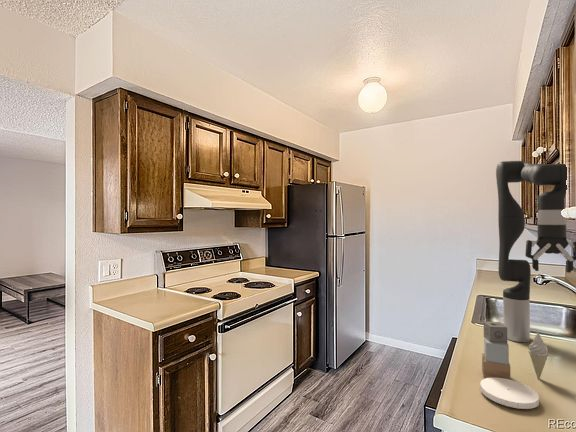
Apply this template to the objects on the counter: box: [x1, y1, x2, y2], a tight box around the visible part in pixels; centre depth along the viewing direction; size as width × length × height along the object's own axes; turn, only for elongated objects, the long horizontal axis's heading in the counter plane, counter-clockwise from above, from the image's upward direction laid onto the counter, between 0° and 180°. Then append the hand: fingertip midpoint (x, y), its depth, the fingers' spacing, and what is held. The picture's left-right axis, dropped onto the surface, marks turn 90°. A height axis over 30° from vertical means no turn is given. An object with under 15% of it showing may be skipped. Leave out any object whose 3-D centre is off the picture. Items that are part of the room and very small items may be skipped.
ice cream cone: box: [528, 331, 549, 380], centre depth 104 cm, size 5×5×15 cm
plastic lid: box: [479, 377, 540, 410], centre depth 93 cm, size 14×14×2 cm
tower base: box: [481, 353, 512, 380], centre depth 105 cm, size 7×7×6 cm
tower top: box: [483, 336, 510, 365], centre depth 104 cm, size 6×6×6 cm
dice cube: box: [483, 321, 509, 344], centre depth 105 cm, size 5×5×5 cm
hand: (552, 271), depth 109 cm, fingers open, 8 cm apart
